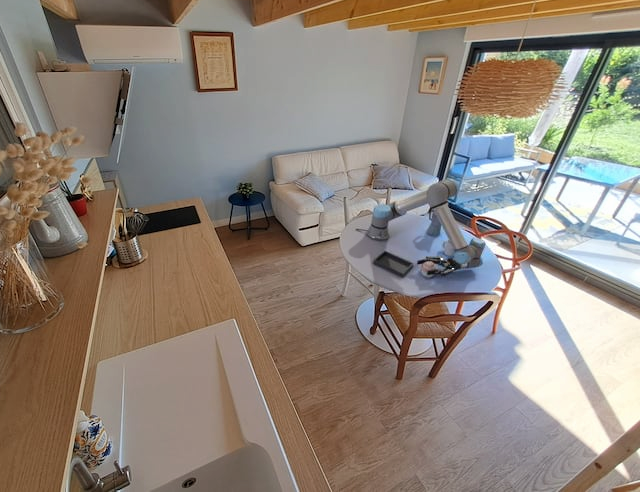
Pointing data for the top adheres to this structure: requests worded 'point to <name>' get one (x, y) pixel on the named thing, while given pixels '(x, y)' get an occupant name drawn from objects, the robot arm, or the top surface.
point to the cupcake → (427, 268)
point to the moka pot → (434, 225)
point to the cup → (448, 248)
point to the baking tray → (393, 263)
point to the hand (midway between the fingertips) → (422, 267)
